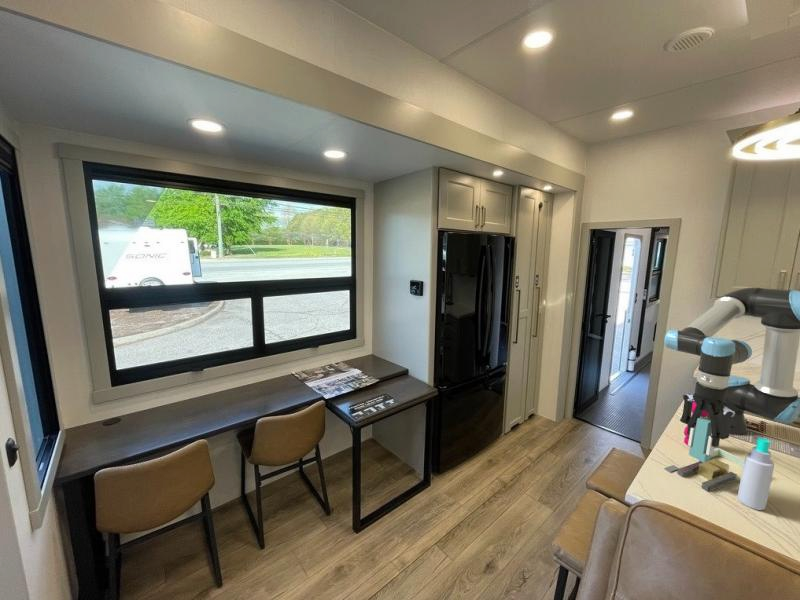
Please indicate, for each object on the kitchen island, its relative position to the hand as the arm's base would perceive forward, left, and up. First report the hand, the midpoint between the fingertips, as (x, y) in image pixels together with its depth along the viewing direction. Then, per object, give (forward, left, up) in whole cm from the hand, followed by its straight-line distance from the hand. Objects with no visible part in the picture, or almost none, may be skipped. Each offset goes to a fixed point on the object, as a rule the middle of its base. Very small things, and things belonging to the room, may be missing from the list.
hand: (700, 449), depth 110 cm
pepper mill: (-24, -14, -12) cm, 30 cm away
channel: (-6, 0, -12) cm, 14 cm away
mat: (+1, -7, -12) cm, 14 cm away
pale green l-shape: (-20, 0, -12) cm, 23 cm away
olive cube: (-12, 0, -12) cm, 17 cm away
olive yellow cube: (-7, 0, -12) cm, 14 cm away
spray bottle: (-5, +12, -12) cm, 18 cm away
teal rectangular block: (0, 0, -3) cm, 3 cm away
